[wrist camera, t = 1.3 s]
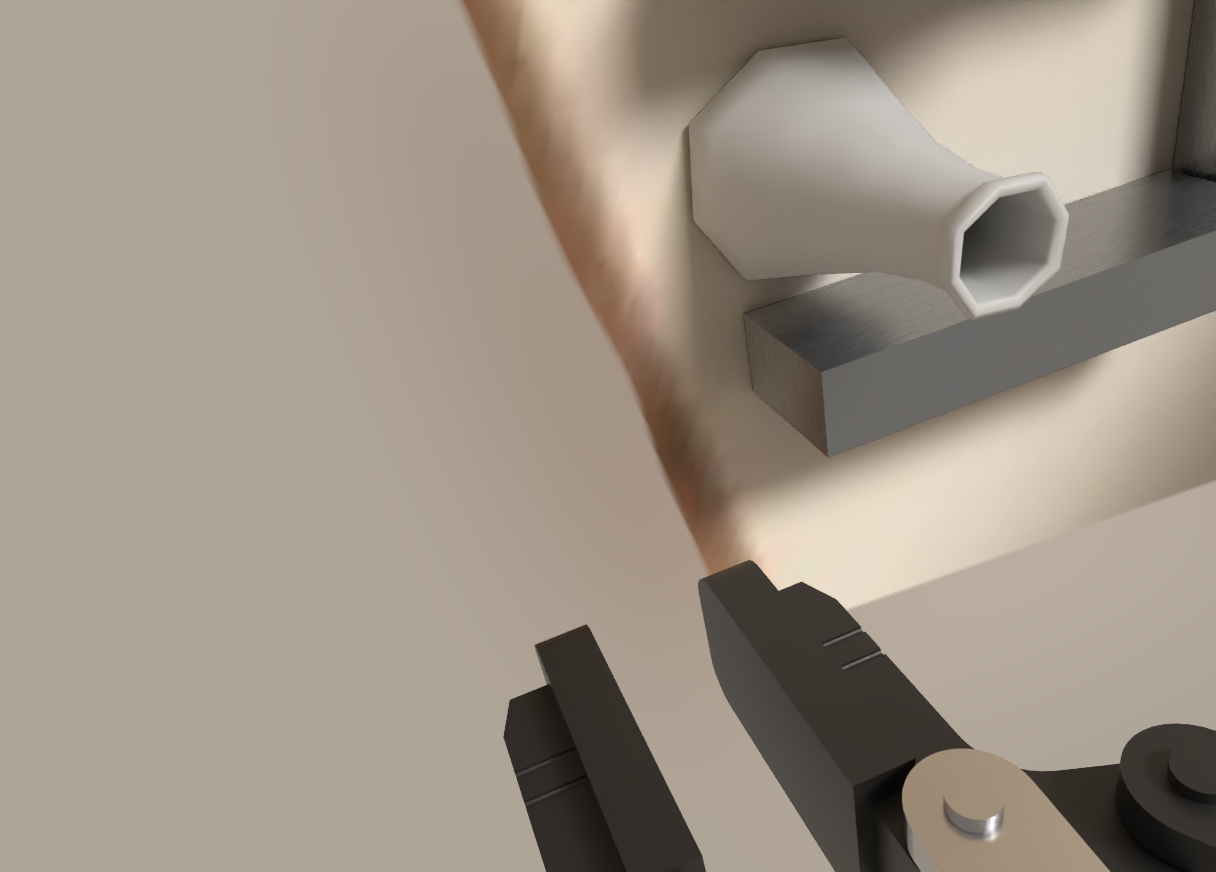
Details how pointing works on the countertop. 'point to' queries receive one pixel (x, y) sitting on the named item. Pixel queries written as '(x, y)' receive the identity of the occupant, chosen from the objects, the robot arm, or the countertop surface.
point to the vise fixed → (1011, 341)
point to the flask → (861, 186)
